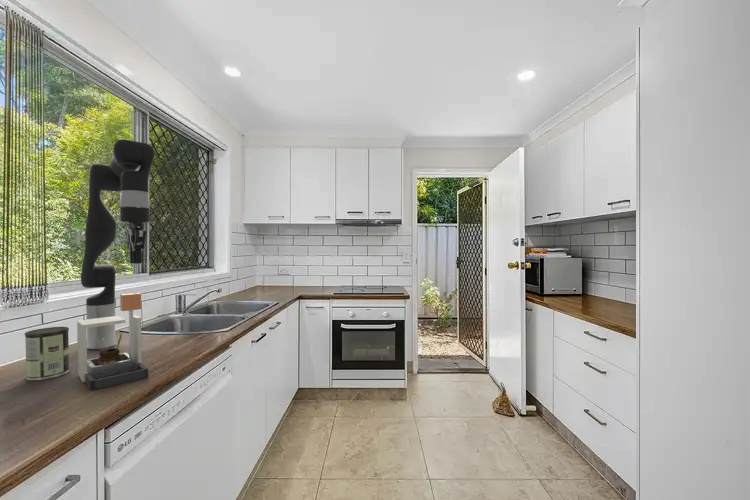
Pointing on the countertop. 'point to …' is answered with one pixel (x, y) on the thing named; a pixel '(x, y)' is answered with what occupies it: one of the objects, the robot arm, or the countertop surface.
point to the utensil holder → (109, 355)
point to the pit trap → (116, 378)
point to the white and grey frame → (96, 322)
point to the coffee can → (47, 353)
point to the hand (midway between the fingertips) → (135, 263)
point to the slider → (127, 360)
